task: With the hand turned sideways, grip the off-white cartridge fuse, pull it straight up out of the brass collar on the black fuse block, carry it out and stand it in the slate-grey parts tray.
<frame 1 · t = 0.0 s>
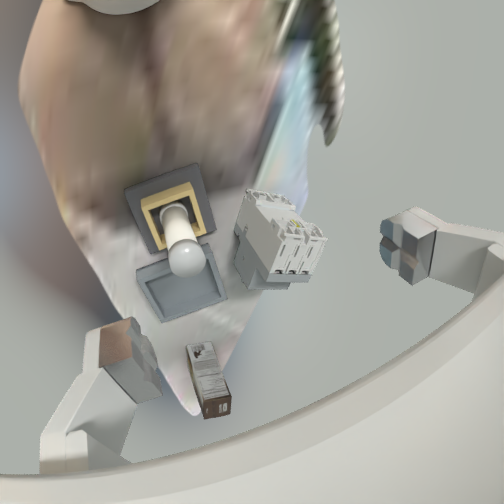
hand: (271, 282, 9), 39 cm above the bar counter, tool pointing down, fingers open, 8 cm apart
circuit breaker: (253, 227, 56), on the bar counter
fuse: (172, 212, 47), point 1 cm above the bar counter, touching fuse block
coffee box: (198, 353, 71), on the bar counter
parts tray: (181, 280, 57), on the bar counter
fuse block: (171, 208, 48), on the bar counter
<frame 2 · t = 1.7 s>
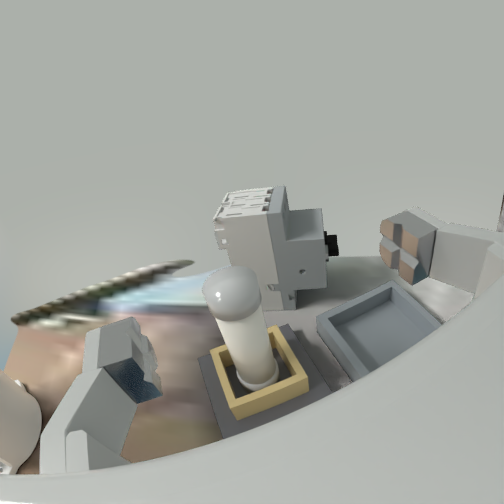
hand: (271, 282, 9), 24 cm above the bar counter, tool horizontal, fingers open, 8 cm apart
circuit breaker: (290, 292, 44), on the bar counter
fuse: (260, 378, 31), point 2 cm above the bar counter, touching fuse block
parts tray: (386, 348, 32), on the bar counter
fuse block: (262, 384, 32), on the bar counter
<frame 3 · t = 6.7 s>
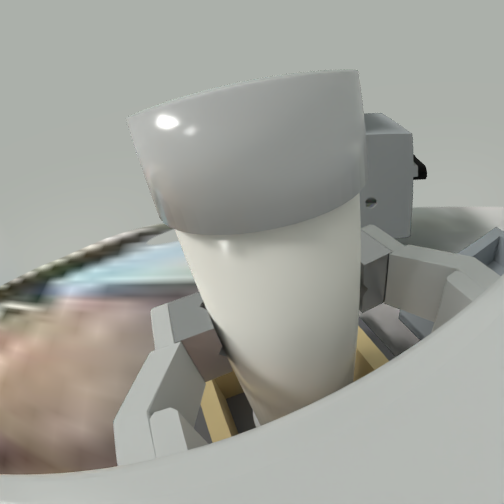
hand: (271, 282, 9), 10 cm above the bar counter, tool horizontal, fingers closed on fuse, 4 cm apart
circuit breaker: (335, 257, 26), on the bar counter
fuse: (305, 423, 13), point 2 cm above the bar counter, touching fuse block, gripper
fuse block: (307, 433, 14), on the bar counter
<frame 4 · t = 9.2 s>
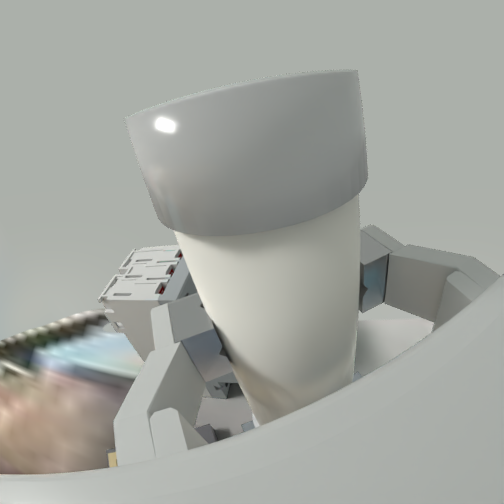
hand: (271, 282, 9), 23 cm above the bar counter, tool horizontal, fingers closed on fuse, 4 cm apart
circuit breaker: (225, 371, 33), on the bar counter
fuse: (305, 423, 13), point 14 cm above the bar counter, touching gripper
fuse block: (173, 494, 21), on the bar counter
when the fingers open (10 cm above the bar counter, at t = 12.1 s): fuse drops 1 cm, resting on parts tray.
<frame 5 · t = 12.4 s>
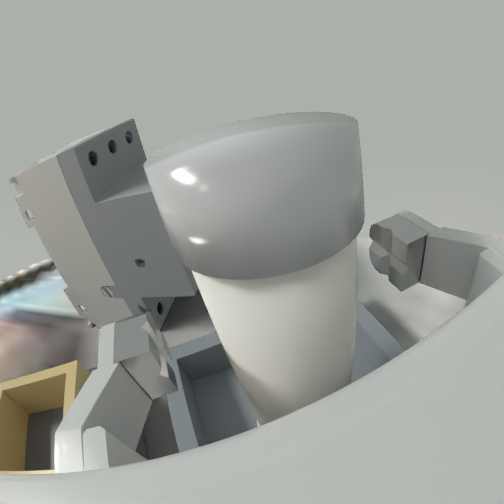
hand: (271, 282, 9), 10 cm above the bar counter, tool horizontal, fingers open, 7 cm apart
circuit breaker: (166, 301, 26), on the bar counter
fuse: (306, 430, 13), point 1 cm above the bar counter, touching parts tray
parts tray: (307, 434, 14), on the bar counter
fuse block: (70, 455, 13), on the bar counter
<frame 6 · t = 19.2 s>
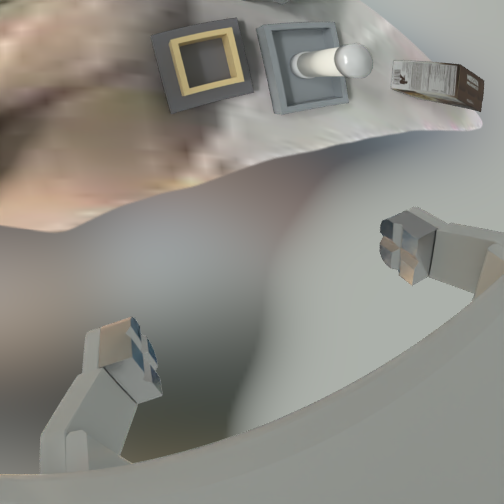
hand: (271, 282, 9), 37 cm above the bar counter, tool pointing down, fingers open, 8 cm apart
fuse: (302, 65, 39), point 1 cm above the bar counter, touching parts tray
coffee box: (406, 79, 46), on the bar counter
parts tray: (300, 65, 40), on the bar counter
fuse block: (201, 63, 36), on the bar counter
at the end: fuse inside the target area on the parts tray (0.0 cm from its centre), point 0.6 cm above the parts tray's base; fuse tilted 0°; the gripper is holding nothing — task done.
